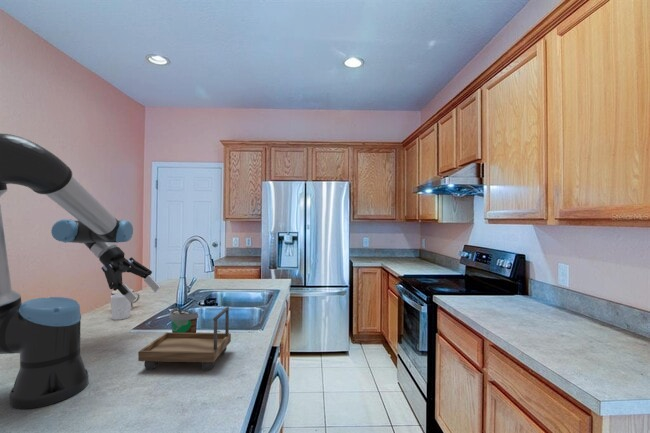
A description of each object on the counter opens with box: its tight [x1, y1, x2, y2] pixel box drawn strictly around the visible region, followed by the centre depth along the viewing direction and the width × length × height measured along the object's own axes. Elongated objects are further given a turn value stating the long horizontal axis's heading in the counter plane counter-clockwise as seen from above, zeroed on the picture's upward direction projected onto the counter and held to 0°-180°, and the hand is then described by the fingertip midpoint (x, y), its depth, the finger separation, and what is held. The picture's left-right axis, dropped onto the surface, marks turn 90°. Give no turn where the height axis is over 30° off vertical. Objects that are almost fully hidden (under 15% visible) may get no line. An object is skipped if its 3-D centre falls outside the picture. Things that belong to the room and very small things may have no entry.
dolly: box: [137, 306, 232, 372], centre depth 97 cm, size 15×22×15 cm
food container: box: [168, 307, 200, 333], centre depth 115 cm, size 12×6×10 cm, turn 62°
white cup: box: [110, 293, 131, 321], centre depth 139 cm, size 8×8×10 cm
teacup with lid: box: [110, 288, 140, 311], centre depth 151 cm, size 12×9×12 cm
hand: (146, 294), depth 116 cm, fingers open, 13 cm apart
